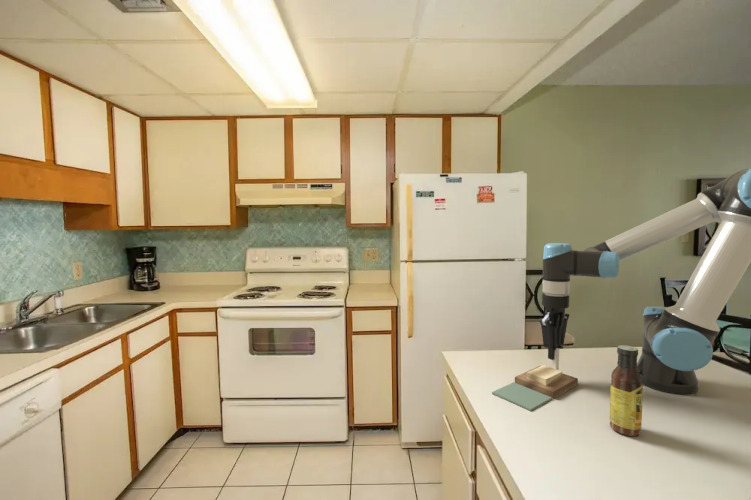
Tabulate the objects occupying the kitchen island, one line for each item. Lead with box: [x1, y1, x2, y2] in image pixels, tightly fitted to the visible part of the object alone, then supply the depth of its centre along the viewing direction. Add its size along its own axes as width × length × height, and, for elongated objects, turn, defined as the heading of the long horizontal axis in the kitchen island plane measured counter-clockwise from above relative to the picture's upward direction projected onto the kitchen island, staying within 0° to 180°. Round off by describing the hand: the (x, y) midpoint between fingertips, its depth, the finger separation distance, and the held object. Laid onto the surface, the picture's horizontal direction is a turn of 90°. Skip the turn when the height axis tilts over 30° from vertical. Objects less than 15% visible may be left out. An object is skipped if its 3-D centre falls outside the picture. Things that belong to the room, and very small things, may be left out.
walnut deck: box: [514, 365, 579, 400], centre depth 110 cm, size 12×14×2 cm
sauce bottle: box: [609, 345, 644, 437], centre depth 85 cm, size 7×6×20 cm
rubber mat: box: [491, 381, 553, 412], centre depth 103 cm, size 12×10×1 cm
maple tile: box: [526, 364, 563, 386], centre depth 110 cm, size 6×9×2 cm, turn 125°
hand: (552, 368), depth 113 cm, fingers closed
